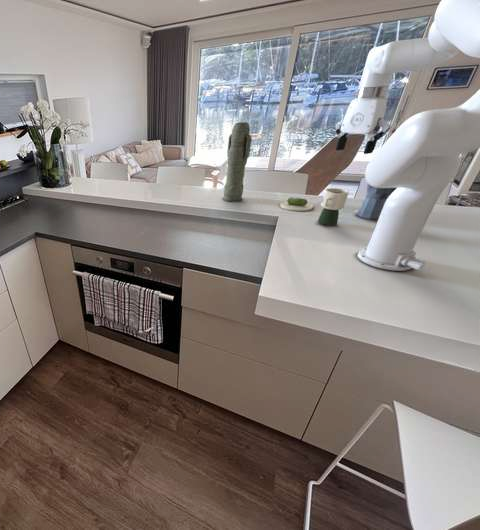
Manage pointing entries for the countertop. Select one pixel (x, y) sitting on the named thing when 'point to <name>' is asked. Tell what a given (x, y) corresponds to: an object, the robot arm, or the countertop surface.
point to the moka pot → (374, 202)
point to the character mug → (332, 205)
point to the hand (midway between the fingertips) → (353, 151)
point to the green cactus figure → (237, 161)
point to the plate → (296, 206)
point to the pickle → (297, 201)
